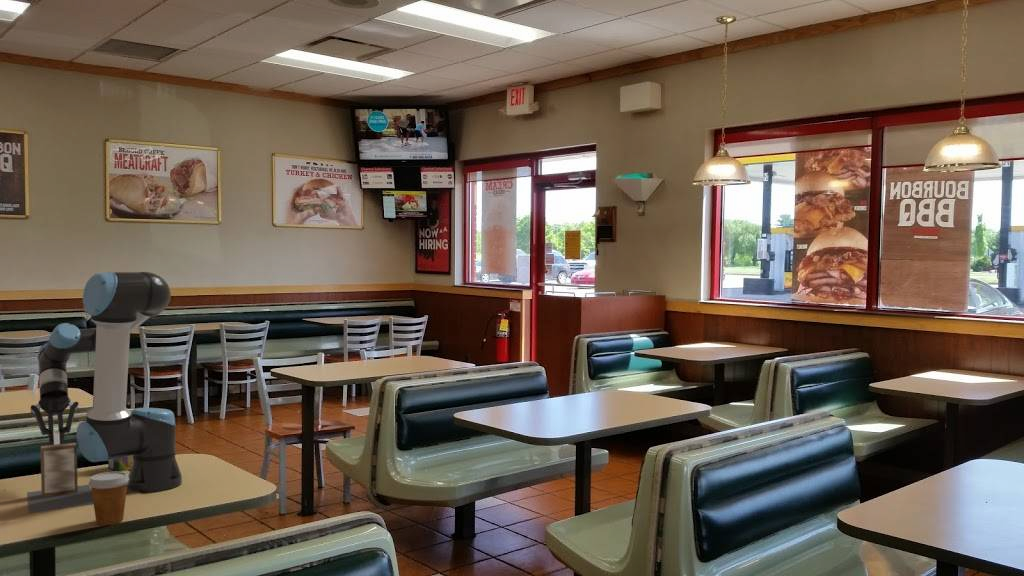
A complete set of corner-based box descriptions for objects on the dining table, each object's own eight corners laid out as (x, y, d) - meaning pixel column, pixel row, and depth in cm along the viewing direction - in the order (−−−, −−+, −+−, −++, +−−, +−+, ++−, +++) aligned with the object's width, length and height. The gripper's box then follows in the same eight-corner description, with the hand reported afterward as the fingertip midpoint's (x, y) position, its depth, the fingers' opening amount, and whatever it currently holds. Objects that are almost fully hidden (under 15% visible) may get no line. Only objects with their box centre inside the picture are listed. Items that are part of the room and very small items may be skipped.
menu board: (76, 490, 244) (76, 442, 243) (77, 492, 241) (76, 444, 240) (41, 494, 239) (40, 446, 238) (41, 497, 236) (40, 448, 236)
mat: (89, 486, 249) (89, 484, 249) (95, 505, 231) (95, 503, 230) (27, 493, 241) (27, 492, 241) (28, 514, 222) (28, 513, 222)
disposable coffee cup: (133, 523, 216) (132, 477, 215) (92, 529, 210) (91, 482, 210) (126, 513, 224) (125, 469, 223) (86, 519, 218) (86, 474, 218)
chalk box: (147, 467, 271) (146, 422, 270) (118, 473, 264) (117, 426, 263) (135, 462, 277) (135, 418, 276) (107, 468, 270) (106, 422, 270)
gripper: (77, 392, 262) (81, 456, 248) (29, 396, 255) (31, 462, 241) (77, 378, 257) (82, 442, 243) (29, 381, 250) (31, 447, 237)
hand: (57, 452), depth 242 cm, fingers closed
